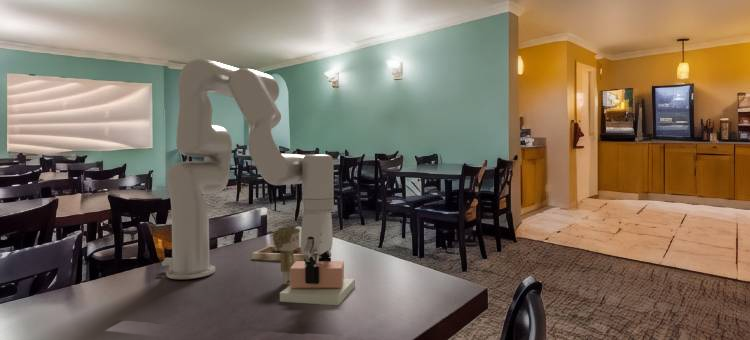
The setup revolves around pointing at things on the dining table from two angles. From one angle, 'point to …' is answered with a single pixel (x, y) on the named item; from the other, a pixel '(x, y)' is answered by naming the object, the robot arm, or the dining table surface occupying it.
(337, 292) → the plate
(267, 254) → the car corral
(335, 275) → the brick
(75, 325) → the dining table surface
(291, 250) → the toy
